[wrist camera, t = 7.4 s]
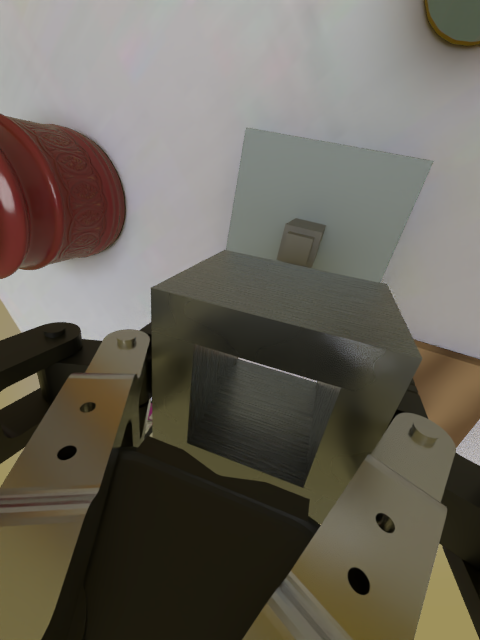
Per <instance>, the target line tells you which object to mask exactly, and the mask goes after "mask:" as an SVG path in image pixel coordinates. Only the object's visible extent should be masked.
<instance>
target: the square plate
mask: <svg viewBox="0 0 480 640" xmlns="http://www.w3.org/2000/svg"><path fill="white" fill-rule="evenodd" d="M432 164H433V161H431V160H425V159H419V158H414V157H408V156H403V155H397V154H391V153H386V152H380V151H375V150H369V149H363V148H358V147H352V146H347V145H341V144H336V143H330V142H324V141H319V140H313V139H308V138H302V137H296V136H291V135H285V134H280V133H274V132H268V131H263V130H257V129H252V128H246V130H245V136H244V142H243V149H242V155H241V161H240V167H239V173H238V179H237V185H236V192H235V198H234V204H233V210H232V216H231V222H230V228H229V234H228V241H227V247H226V250H228V251H233V252H238V253H242V254H247V255H252V256H257V257H261V258H266V259H271V260H275V261H280V262H285V263H289V264H294V265H299V266H303V267H308V268H313V269H317V270H322V271H327V272H331V273H336V274H341V275H346V276H350V277H355V278H360V279H364V280H369V281H374V282H378V283H380V281H381V279H382V277H383V275H384V272H385V270H386V268H387V266H388V263H389V261H390V259H391V257H392V254H393V252H394V250H395V247H396V245H397V243H398V241H399V238H400V236H401V234H402V232H403V229H404V227H405V225H406V223H407V220H408V218H409V216H410V214H411V211H412V209H413V207H414V204H415V202H416V200H417V198H418V195H419V193H420V191H421V189H422V186H423V184H424V182H425V180H426V177H427V175H428V173H429V170H430V168H431V166H432Z"/></svg>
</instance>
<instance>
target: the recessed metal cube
mask: <svg viewBox="0 0 480 640" xmlns="http://www.w3.org/2000/svg"><path fill="white" fill-rule="evenodd" d="M151 329H152V433H153V438H155V439H158V440H160V441H163V442H165V443H168V444H170V445H173V446H176V447H178V448H181V449H183V450H185V451H186V452H187V453H189V454H190V455H191V456H193V457H194V458H196V459H197V460H198V461H200V462H201V463H202V464H204V465H205V466H206V467H208V468H209V469H211V470H212V471H213V472H215V473H216V474H218V475H221V476H226V477H233V478H240V479H248V480H255V481H262V482H267V483H270V484H272V485H275V486H277V487H280V488H282V489H285V490H287V491H290V492H293V493H295V494H298V495H300V496H303V497H305V498H308V499H310V503H309V513H308V516H310V517H311V518H312V519H314V520H315V521H316V522H318V523H319V524H322V523H323V521H324V520H325V518H326V517H327V515H328V514H329V512H330V511H331V509H332V508H333V506H334V505H335V503H336V502H337V500H338V499H339V497H340V496H341V494H342V493H343V491H344V490H345V488H346V487H347V485H348V484H349V482H350V481H351V479H352V478H353V476H354V475H355V473H356V472H357V470H358V469H359V467H360V466H361V464H362V462H363V461H364V459H365V458H366V457H367V455H368V454H371V453H372V452H373V450H374V449H375V447H376V445H377V444H378V442H379V441H380V439H381V438H382V436H383V435H384V433H385V431H386V429H387V427H388V425H389V423H390V421H391V419H392V417H393V415H394V413H395V412H396V410H397V408H398V406H399V404H400V402H401V400H402V398H403V396H404V394H405V392H406V390H407V388H408V386H409V384H410V382H411V380H412V378H413V376H414V374H415V372H416V371H417V369H418V367H419V365H420V363H421V361H422V356H421V354H420V352H419V350H418V348H417V346H416V344H415V342H414V340H413V338H412V336H411V334H410V331H409V329H408V327H407V325H406V323H405V321H404V319H403V317H402V315H401V313H400V311H399V309H398V307H397V304H396V302H395V300H394V298H393V296H392V294H391V292H390V290H389V288H388V286H387V284H383V283H378V282H374V281H369V280H364V279H360V278H355V277H350V276H346V275H341V274H336V273H331V272H327V271H322V270H317V269H313V268H308V267H303V266H299V265H294V264H289V263H285V262H280V261H275V260H271V259H266V258H261V257H257V256H252V255H247V254H242V253H238V252H233V251H228V250H224V251H222V252H220V253H218V254H216V255H214V256H212V257H210V258H208V259H206V260H204V261H202V262H200V263H198V264H196V265H194V266H192V267H191V268H189V269H187V270H185V271H183V272H181V273H179V274H177V275H175V276H173V277H171V278H169V279H167V280H165V281H163V282H161V283H159V284H157V285H156V286H154V287H152V288H151ZM238 357H240V358H243V359H246V360H250V361H253V362H256V363H260V364H263V365H266V366H270V367H273V368H276V369H280V370H283V371H286V372H290V373H293V374H296V375H300V376H303V377H306V378H310V379H313V380H316V381H317V383H316V382H312V381H309V380H306V379H302V378H299V377H296V376H292V375H289V374H286V373H283V372H279V371H276V370H273V369H269V368H266V367H263V366H259V365H256V364H253V363H249V362H246V361H243V360H239V359H238Z"/></svg>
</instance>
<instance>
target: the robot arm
mask: <svg viewBox="0 0 480 640" xmlns="http://www.w3.org/2000/svg"><path fill="white" fill-rule="evenodd" d="M35 373H37V375H38V379H39V383H40V388H39V389H38V390H36V391H34V392H32V393H30V394H29V395H27V396H25V397H23V398H21V399H19V400H18V401H15V402H14V403H12V404H10V405H8V406H6V407H4V408H3V409H1V410H0V464H1V463H2V462H4V461H5V460H7V459H8V458H10V457H11V456H13V455H14V454H15V453H17V452H18V451H20V450H21V449H23V448H24V447H25V448H24V450H23V451H22V453H21V455H20V456H19V458H18V459H17V461H16V463H15V464H14V466H13V468H12V469H11V471H10V472H9V474H8V476H7V477H6V479H5V480H4V482H3V484H2V485H1V487H0V640H414V636H415V633H416V629H417V625H418V621H419V618H420V614H421V610H422V606H423V602H424V599H425V595H426V591H427V587H428V583H429V580H430V575H431V572H432V568H433V564H434V560H435V557H436V553H437V549H438V545H439V544H441V545H442V546H443V549H444V552H445V555H446V558H447V560H448V562H449V565H450V567H451V569H452V572H453V575H454V577H455V580H456V582H457V585H458V587H459V590H460V592H461V595H462V597H463V600H464V602H465V605H466V607H467V609H468V612H469V614H470V617H471V619H472V622H473V624H474V627H475V629H476V632H477V634H478V636H479V639H480V466H479V465H477V464H475V463H473V462H471V461H469V460H467V459H465V458H464V457H462V456H460V455H459V454H457V453H456V447H455V444H454V442H453V440H452V438H451V437H450V436H449V435H448V433H447V432H446V431H445V430H443V429H442V428H441V427H440V426H438V425H437V424H436V423H434V422H432V421H431V420H429V419H428V417H427V414H426V411H425V409H424V406H423V403H422V401H421V398H420V395H419V394H418V390H417V388H416V386H415V382H414V380H413V378H412V380H411V382H410V384H409V386H408V388H407V390H406V392H405V394H404V396H403V398H402V400H401V402H400V404H399V406H398V408H397V410H396V412H395V413H394V415H393V417H392V419H391V421H390V423H389V425H388V427H387V429H386V431H385V433H384V435H383V436H382V438H381V439H380V441H379V442H378V444H377V445H376V447H375V449H374V450H373V452H372V453H371V454H368V455H367V457H366V458H365V459H364V461H363V462H362V464H361V466H360V467H359V469H358V470H357V472H356V473H355V475H354V476H353V478H352V479H351V481H350V482H349V484H348V485H347V487H346V488H345V490H344V491H343V493H342V494H341V496H340V497H339V499H338V500H337V502H336V503H335V505H334V506H333V508H332V509H331V511H330V512H329V514H328V515H327V517H326V518H325V520H324V521H323V523H322V524H321V525H320V524H319V523H318V522H316V521H315V520H314V519H312V518H311V517H310V516H308V513H309V503H310V499H308V498H305V497H303V496H300V495H298V494H295V493H293V492H290V491H287V490H285V489H282V488H280V487H277V486H275V485H272V484H270V483H267V482H262V481H255V480H248V479H240V478H233V477H226V476H221V475H218V474H216V473H215V472H213V471H212V470H211V469H209V468H208V467H206V466H205V465H204V464H202V463H201V462H200V461H198V460H197V459H196V458H194V457H193V456H191V455H190V454H189V453H187V452H186V451H185V450H183V449H181V448H178V447H176V446H173V445H170V444H168V443H165V442H163V441H160V440H158V439H155V438H153V437H150V436H148V435H147V437H146V438H145V439H144V436H145V431H146V426H147V421H148V416H149V411H150V405H151V397H152V329H151V323H149V324H148V325H146V326H145V327H144V328H142V329H141V330H132V329H126V330H119V331H115V332H112V333H110V334H108V335H107V336H106V337H105V338H104V339H103V341H97V340H86V339H82V337H81V330H80V328H79V327H78V326H77V325H75V324H72V323H66V322H57V323H50V324H45V325H42V326H39V327H36V328H34V329H31V330H28V331H25V332H23V333H20V334H17V335H15V336H12V337H9V338H6V339H4V340H1V341H0V392H1V391H2V390H3V389H5V388H6V387H8V386H10V385H12V384H14V383H16V382H18V381H20V380H22V379H24V378H26V377H28V376H30V375H33V374H35Z"/></svg>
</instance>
